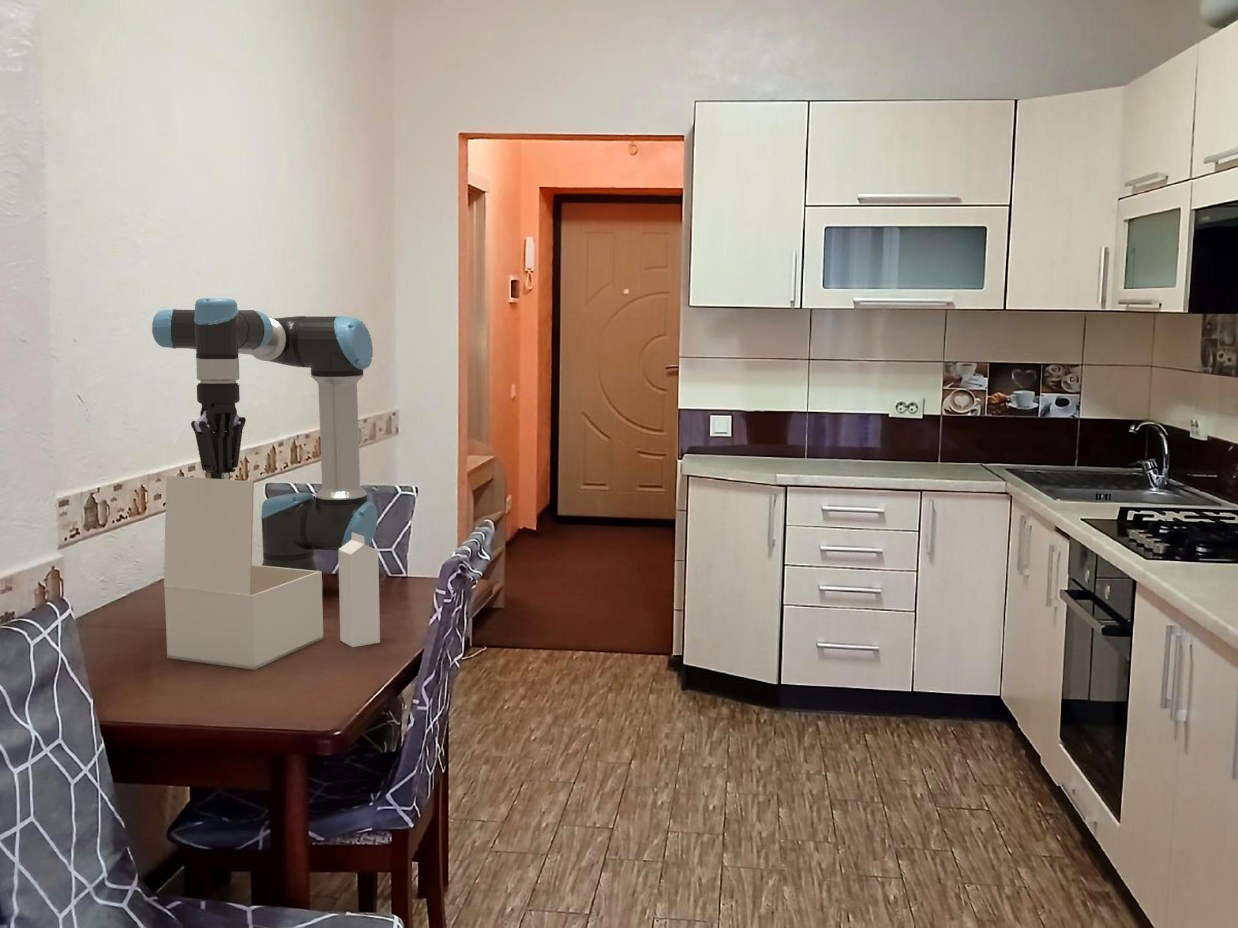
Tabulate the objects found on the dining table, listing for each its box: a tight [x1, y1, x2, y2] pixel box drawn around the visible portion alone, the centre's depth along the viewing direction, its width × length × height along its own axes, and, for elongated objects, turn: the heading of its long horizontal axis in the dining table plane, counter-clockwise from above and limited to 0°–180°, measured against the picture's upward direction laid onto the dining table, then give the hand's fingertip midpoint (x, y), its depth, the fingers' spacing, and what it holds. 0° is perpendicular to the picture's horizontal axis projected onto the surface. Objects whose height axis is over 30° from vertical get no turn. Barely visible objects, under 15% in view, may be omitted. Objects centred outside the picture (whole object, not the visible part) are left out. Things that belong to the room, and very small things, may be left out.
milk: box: [337, 532, 381, 648], centre depth 233 cm, size 6×6×22 cm
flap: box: [163, 475, 255, 595], centre depth 216 cm, size 21×19×1 cm
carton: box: [163, 564, 324, 671], centre depth 228 cm, size 22×20×14 cm
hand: (221, 507), depth 219 cm, fingers closed
